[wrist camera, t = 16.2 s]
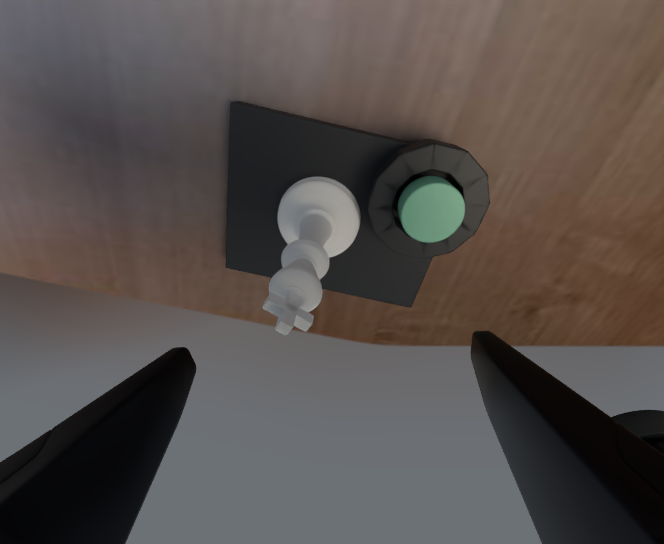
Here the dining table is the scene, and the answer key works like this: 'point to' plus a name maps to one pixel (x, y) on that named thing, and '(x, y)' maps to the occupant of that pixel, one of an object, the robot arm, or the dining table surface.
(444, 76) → the dining table surface
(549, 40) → the dining table surface
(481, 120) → the dining table surface
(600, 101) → the dining table surface
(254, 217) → the black button base
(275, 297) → the chess piece
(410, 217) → the button
